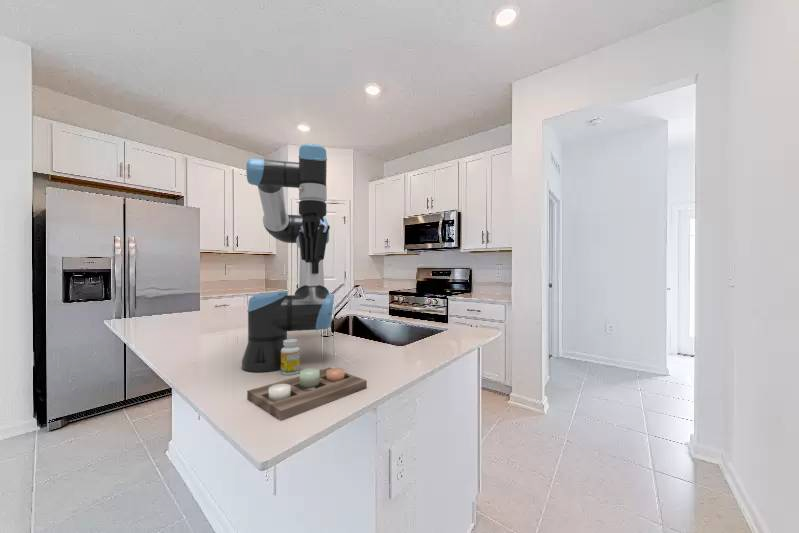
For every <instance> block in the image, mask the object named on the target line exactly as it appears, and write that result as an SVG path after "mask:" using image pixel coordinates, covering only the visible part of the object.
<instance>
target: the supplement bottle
mask: <svg viewBox="0 0 799 533" xmlns="http://www.w3.org/2000/svg"><path fill="white" fill-rule="evenodd" d="M283 345H284V347H283V348H282V349H281V369H280V374H281V375H284V376H293V375H297V374H298V373H300V371H301V370H300V369H301V367H300V364H301V363H300V360H301V359H300V354H301V352H300V350H301V349H300V347H299V346H298V339H296V338H287V340H284V341H283Z"/></svg>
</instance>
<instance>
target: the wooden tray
mask: <svg viewBox="0 0 799 533" xmlns="http://www.w3.org/2000/svg"><path fill="white" fill-rule="evenodd" d="M329 369H332V367H326V368H322V369H319V370H320V383H319V384H318V385H316V386H312V387H303V386H300V375H298V376H295V377H292V378H291V377H290V378H287V379H283V380H281V381H277V382H274V383H270V384H266V385H263V386H259V387H256V388H252V389H249V390H247V391H246V393H247V394H246V396H247V397H246V399H247V400H248V401H250V402H251V403H253V404H254V405H255V406H257V407H259V408H261V409H262V410H264V411H266V412H267V413H269V414H270V415H272V416H273V417H275V418H276V419H278V420H279V421H284V420H286V419H288V418H291V417H294V416H296V415H300V414H302V413H304V412H308V411H309V410H312V409H316V408H317V407H320V406H322V405H326V404H329V403H331V402H333V401H337V400H339V399H341V398H344V397H347V396H349V395H352V394H354V393H358V392H360V391H363V390H365V389H367V388H368V387H367V386H368V384H367V382H368V381H367V379H364V378H361V377H358V376H355V375H353V374H350V373H348V372H345V379H343V380H340V381H337V382H334V383H332V382H330V381H327V380H326V371H327V370H329ZM276 384H289V385H290V386H291V397H289V398H286V399H283V400H280V401H277V402H272V401H270V400H269V387H271V386H273V385H276ZM312 388H313V389H312ZM308 389H311V390H308ZM305 390H308V391H305Z"/></svg>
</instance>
